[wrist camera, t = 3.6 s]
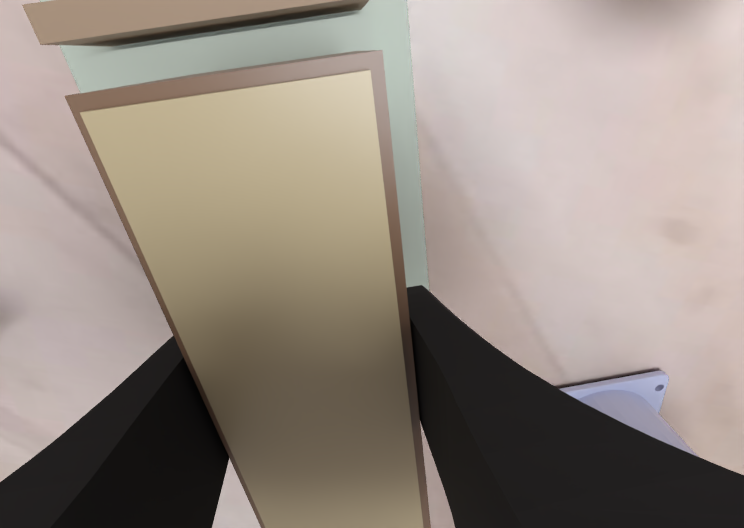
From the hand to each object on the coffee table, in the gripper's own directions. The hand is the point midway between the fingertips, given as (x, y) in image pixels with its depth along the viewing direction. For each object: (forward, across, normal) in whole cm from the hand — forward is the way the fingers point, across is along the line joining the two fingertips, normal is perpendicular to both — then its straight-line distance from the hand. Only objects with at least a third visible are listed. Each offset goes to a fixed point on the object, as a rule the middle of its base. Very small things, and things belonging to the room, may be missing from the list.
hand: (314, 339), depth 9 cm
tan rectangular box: (+4, 0, 0) cm, 4 cm away
